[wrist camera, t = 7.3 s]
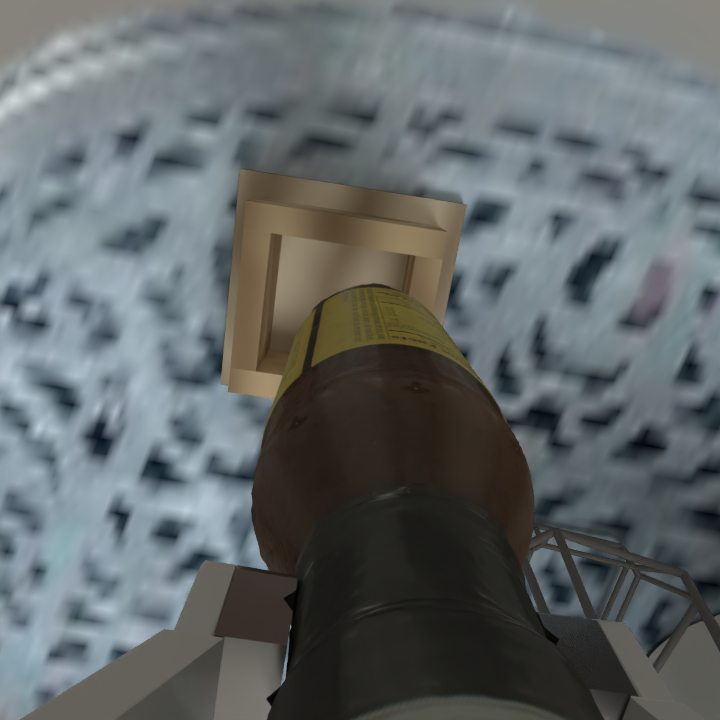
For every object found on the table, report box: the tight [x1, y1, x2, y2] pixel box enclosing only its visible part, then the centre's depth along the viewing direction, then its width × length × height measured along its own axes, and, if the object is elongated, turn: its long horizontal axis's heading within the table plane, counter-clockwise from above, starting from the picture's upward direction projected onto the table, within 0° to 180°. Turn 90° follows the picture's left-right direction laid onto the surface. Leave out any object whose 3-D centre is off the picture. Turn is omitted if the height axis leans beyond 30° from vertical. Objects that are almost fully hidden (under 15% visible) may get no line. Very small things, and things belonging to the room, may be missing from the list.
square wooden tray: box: [221, 169, 466, 399], centre depth 37 cm, size 14×14×6 cm
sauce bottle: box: [251, 283, 604, 720], centre depth 16 cm, size 6×6×20 cm
